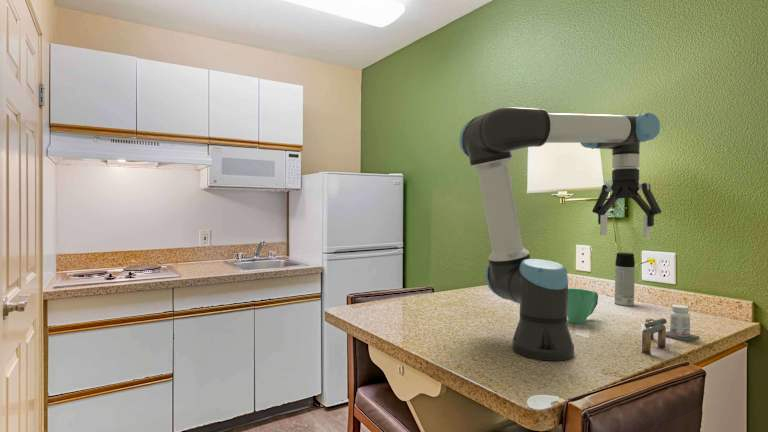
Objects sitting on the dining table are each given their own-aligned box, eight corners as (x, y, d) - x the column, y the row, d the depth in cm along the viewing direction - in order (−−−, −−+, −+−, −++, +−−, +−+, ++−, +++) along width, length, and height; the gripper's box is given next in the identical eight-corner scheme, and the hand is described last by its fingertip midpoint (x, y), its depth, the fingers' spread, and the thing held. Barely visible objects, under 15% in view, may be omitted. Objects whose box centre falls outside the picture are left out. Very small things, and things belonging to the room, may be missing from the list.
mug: (580, 327, 136) (581, 295, 136) (554, 320, 144) (554, 290, 144) (608, 321, 143) (609, 291, 143) (582, 314, 152) (582, 286, 152)
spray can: (634, 303, 170) (635, 253, 169) (633, 307, 164) (634, 254, 164) (615, 301, 173) (616, 251, 173) (613, 304, 168) (614, 253, 167)
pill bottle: (689, 334, 127) (689, 305, 127) (690, 338, 123) (691, 308, 123) (669, 331, 130) (670, 303, 129) (670, 335, 126) (670, 306, 125)
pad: (687, 342, 121) (687, 340, 121) (661, 335, 127) (661, 333, 127) (699, 338, 125) (699, 336, 125) (672, 332, 131) (672, 330, 131)
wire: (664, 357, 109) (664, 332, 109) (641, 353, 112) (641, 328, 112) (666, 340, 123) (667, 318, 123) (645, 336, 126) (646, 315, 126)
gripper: (675, 166, 128) (673, 238, 128) (595, 171, 149) (594, 233, 149) (662, 165, 124) (660, 239, 124) (581, 170, 145) (581, 234, 145)
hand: (624, 236), depth 137 cm, fingers open, 13 cm apart
